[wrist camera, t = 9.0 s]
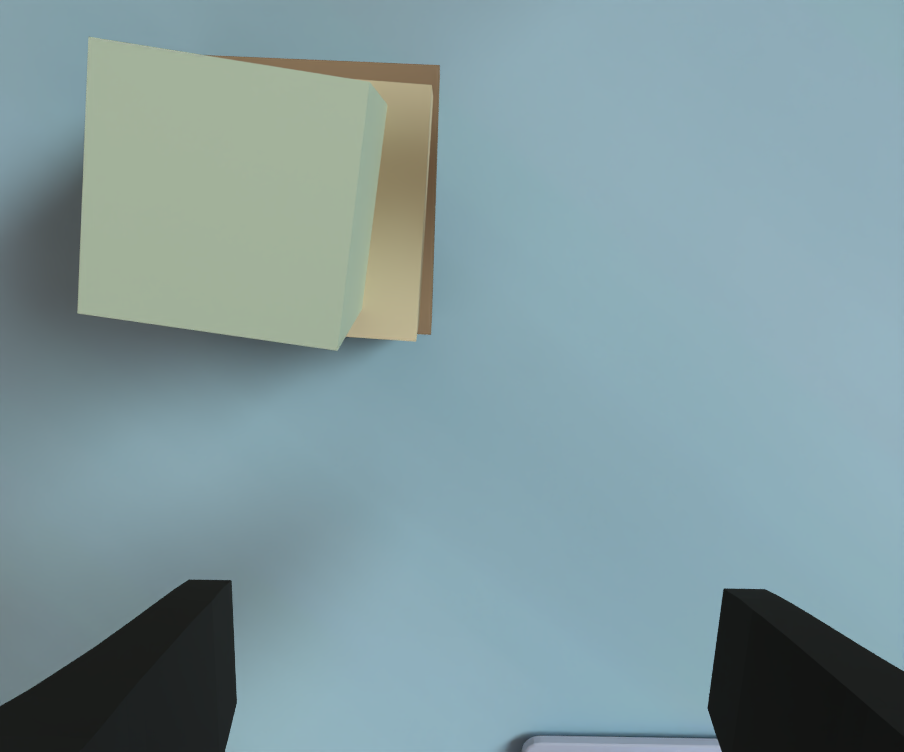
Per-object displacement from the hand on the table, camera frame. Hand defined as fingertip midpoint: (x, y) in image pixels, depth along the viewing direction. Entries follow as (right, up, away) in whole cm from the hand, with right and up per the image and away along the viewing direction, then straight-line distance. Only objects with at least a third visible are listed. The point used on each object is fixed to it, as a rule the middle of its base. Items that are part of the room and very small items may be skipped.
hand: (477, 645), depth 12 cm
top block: (-4, +7, +4) cm, 9 cm away
